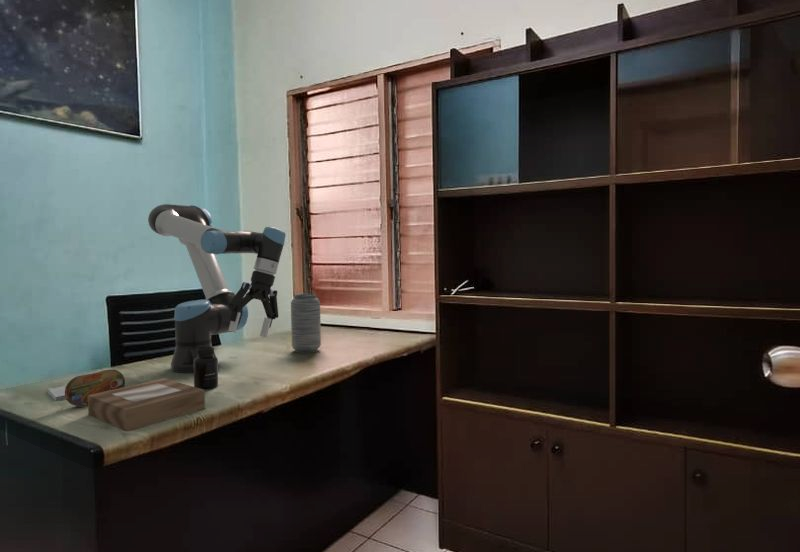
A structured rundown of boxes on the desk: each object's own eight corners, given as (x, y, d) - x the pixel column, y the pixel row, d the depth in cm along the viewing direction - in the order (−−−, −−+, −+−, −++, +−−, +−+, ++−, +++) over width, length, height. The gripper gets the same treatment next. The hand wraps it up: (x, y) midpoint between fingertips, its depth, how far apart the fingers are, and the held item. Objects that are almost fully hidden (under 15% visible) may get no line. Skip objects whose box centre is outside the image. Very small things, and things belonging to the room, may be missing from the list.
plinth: (88, 414, 128) (87, 395, 128) (164, 395, 144) (164, 378, 144) (126, 431, 116) (125, 409, 116) (204, 408, 132) (204, 389, 132)
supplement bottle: (210, 390, 148) (208, 350, 148) (189, 389, 150) (188, 349, 149) (222, 384, 155) (221, 346, 154) (202, 383, 156) (201, 345, 156)
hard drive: (89, 391, 146) (79, 383, 155) (55, 397, 140) (46, 388, 149) (89, 396, 146) (79, 388, 155) (55, 403, 140) (47, 393, 149)
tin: (69, 410, 131) (68, 379, 131) (63, 409, 133) (62, 377, 133) (126, 396, 144) (125, 367, 144) (120, 394, 146) (118, 365, 145)
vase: (285, 352, 201) (284, 295, 200) (302, 347, 212) (301, 293, 210) (310, 355, 197) (309, 296, 195) (326, 349, 207) (325, 293, 206)
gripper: (242, 265, 158) (224, 331, 155) (297, 281, 178) (282, 340, 176) (227, 262, 162) (210, 327, 160) (283, 279, 182) (268, 336, 180)
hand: (248, 334), depth 168 cm, fingers open, 13 cm apart
